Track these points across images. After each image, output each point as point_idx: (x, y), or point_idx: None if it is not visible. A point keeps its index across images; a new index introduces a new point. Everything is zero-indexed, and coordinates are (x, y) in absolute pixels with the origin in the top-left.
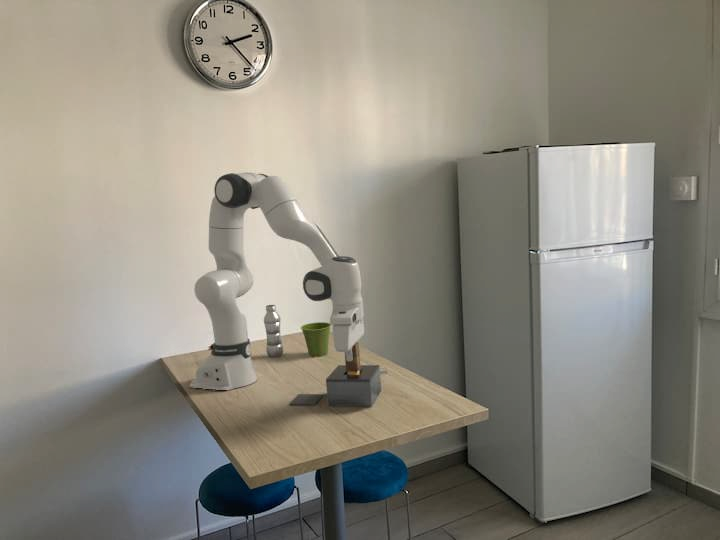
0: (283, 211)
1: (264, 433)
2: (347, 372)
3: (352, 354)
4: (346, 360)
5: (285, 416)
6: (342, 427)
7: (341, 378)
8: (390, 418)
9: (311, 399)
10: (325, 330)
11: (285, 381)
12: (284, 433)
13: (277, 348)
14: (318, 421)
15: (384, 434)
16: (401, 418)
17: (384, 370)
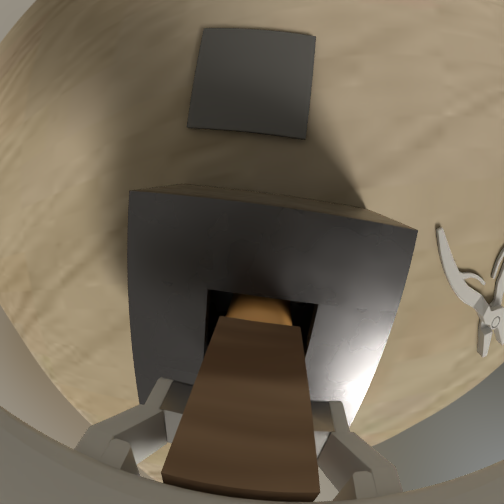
0: None
1: (26, 69)
2: (239, 315)
3: (165, 443)
4: (201, 368)
5: (107, 60)
6: (42, 265)
7: (141, 287)
8: (106, 379)
9: (242, 98)
10: None
11: (453, 5)
12: (18, 118)
13: None
14: (64, 184)
15: (40, 355)
16: (111, 398)
17: (482, 350)
